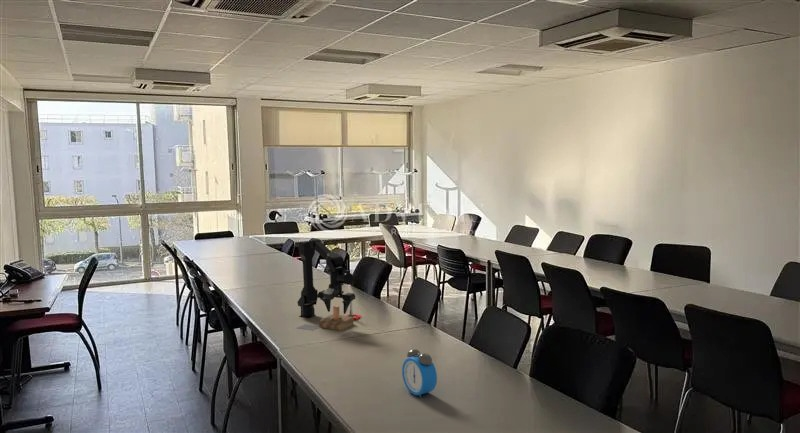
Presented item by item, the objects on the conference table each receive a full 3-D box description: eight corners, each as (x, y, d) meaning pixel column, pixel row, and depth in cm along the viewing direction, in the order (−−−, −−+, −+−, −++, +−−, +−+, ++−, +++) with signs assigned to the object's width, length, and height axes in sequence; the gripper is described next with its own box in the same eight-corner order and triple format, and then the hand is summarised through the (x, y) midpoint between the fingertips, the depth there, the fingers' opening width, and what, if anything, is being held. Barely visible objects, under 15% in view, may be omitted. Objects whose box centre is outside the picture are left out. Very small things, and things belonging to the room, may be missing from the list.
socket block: (319, 328, 282) (319, 320, 282) (333, 322, 293) (333, 314, 293) (340, 331, 277) (340, 323, 277) (353, 324, 288) (353, 316, 287)
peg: (332, 326, 284) (332, 307, 283) (335, 325, 287) (335, 305, 286) (337, 327, 283) (337, 307, 282) (340, 326, 286) (340, 306, 285)
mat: (295, 328, 281) (295, 328, 281) (305, 324, 289) (305, 324, 289) (312, 331, 277) (312, 330, 277) (322, 327, 284) (322, 326, 284)
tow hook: (347, 316, 306) (342, 320, 297) (347, 292, 305) (342, 295, 296) (362, 316, 305) (358, 320, 296) (362, 292, 304) (358, 295, 295)
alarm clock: (401, 389, 206) (401, 348, 204) (415, 385, 209) (415, 345, 208) (423, 401, 195) (423, 358, 194) (438, 397, 199) (438, 354, 197)
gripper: (310, 283, 280) (311, 314, 281) (343, 286, 272) (344, 318, 273) (323, 279, 290) (324, 309, 291) (355, 282, 282) (356, 313, 283)
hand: (336, 312), depth 284 cm, fingers open, 9 cm apart
